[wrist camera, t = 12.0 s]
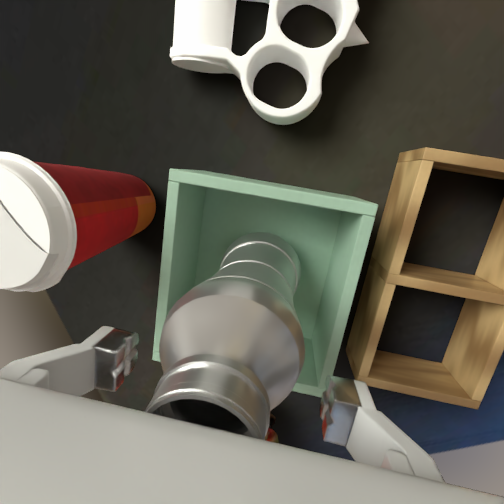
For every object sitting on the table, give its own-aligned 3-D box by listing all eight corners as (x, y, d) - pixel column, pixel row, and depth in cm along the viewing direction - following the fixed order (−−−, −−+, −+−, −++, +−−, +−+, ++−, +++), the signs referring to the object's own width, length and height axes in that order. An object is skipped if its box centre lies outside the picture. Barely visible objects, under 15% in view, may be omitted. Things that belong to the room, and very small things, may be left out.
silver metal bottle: (293, 301, 28) (297, 559, 9) (223, 288, 29) (87, 504, 10) (306, 234, 27) (344, 375, 8) (231, 221, 27) (88, 323, 8)
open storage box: (201, 170, 27) (169, 168, 20) (353, 196, 26) (379, 204, 19) (185, 315, 31) (151, 360, 24) (317, 343, 30) (326, 399, 23)
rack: (399, 152, 25) (425, 147, 20) (523, 172, 24) (581, 171, 20) (345, 350, 30) (355, 383, 25) (447, 371, 29) (478, 410, 24)
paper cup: (77, 177, 29) (-108, 179, 15) (148, 150, 28) (13, 125, 14) (110, 253, 30) (-32, 316, 17) (179, 231, 29) (84, 280, 16)
